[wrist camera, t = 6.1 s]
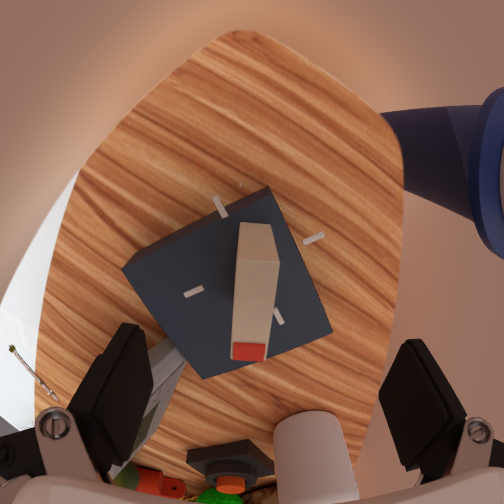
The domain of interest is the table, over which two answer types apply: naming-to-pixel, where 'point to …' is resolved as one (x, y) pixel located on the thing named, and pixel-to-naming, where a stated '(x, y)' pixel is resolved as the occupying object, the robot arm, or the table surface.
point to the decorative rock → (262, 496)
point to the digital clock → (157, 392)
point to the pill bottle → (313, 460)
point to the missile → (12, 349)
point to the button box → (231, 462)
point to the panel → (224, 285)
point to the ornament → (218, 497)
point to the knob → (254, 292)
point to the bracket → (159, 484)
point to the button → (230, 484)
